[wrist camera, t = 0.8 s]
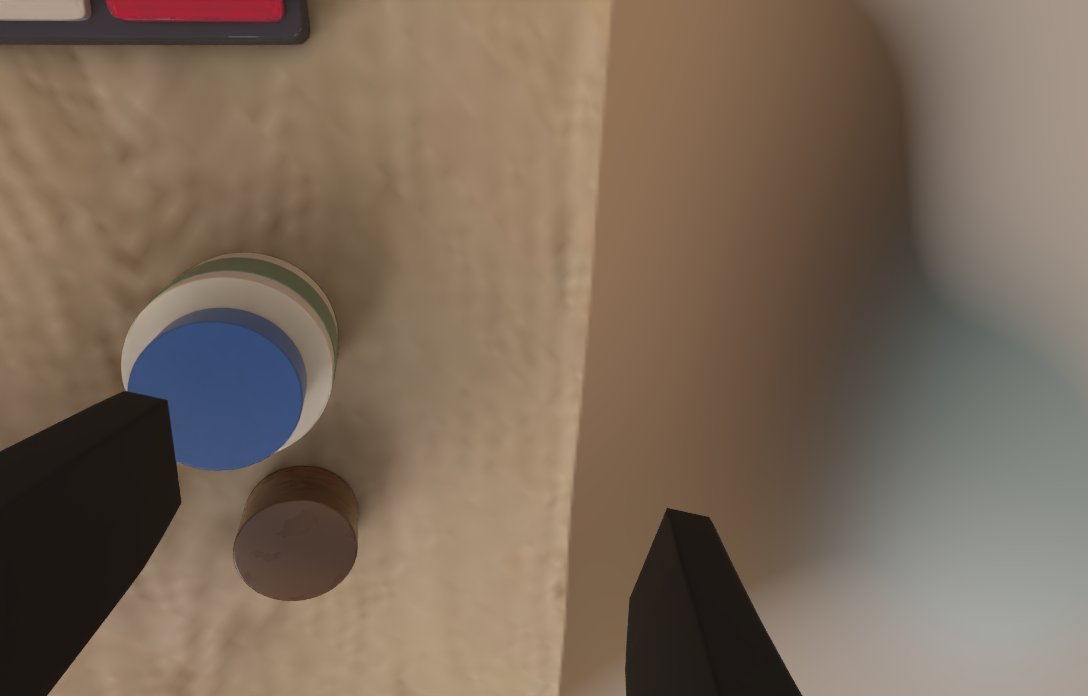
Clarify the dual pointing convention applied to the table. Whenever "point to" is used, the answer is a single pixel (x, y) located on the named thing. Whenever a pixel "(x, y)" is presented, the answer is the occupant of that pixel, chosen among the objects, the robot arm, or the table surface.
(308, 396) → the bottle
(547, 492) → the table surface
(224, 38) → the calculator
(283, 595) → the brown cylinder
